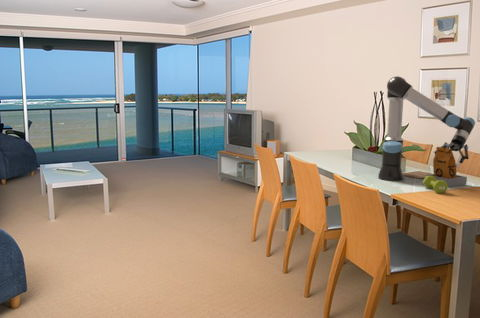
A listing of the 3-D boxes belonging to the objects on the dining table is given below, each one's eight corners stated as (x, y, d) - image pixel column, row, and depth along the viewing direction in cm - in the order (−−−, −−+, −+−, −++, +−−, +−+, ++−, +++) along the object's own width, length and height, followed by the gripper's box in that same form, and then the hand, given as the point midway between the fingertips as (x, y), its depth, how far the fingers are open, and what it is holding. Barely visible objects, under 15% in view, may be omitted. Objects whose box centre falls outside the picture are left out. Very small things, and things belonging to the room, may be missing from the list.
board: (420, 179, 280) (420, 178, 280) (398, 174, 296) (398, 173, 296) (441, 177, 289) (442, 175, 289) (419, 172, 305) (419, 171, 305)
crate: (447, 187, 257) (448, 179, 256) (426, 182, 270) (426, 174, 269) (466, 185, 265) (466, 176, 264) (444, 180, 278) (445, 172, 277)
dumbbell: (421, 187, 258) (422, 175, 257) (435, 187, 258) (436, 175, 257) (434, 193, 242) (435, 181, 241) (448, 193, 242) (449, 181, 241)
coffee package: (445, 186, 260) (445, 150, 256) (431, 182, 272) (430, 147, 267) (459, 184, 263) (459, 148, 258) (444, 179, 274) (444, 145, 270)
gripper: (482, 144, 264) (468, 172, 257) (441, 140, 283) (427, 165, 276) (479, 136, 259) (464, 164, 253) (438, 132, 279) (424, 158, 272)
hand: (445, 165), depth 264 cm, fingers open, 13 cm apart
